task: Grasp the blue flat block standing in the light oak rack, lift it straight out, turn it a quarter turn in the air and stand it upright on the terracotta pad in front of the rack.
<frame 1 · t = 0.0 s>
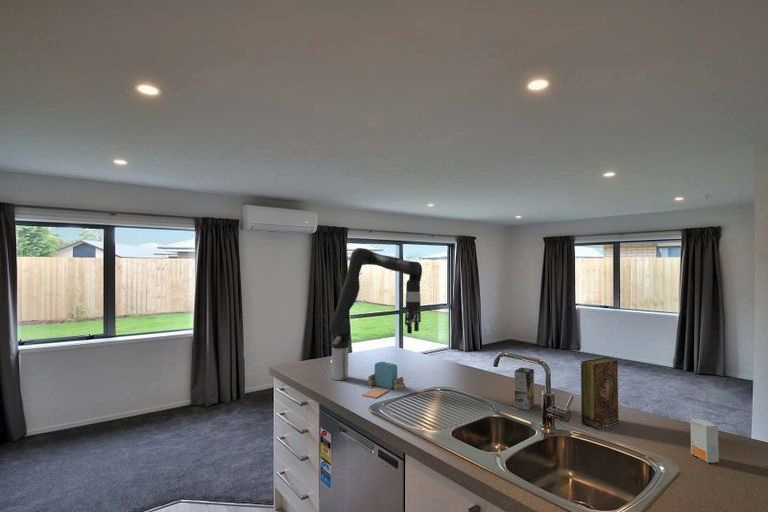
hand: (413, 332, 195), 29 cm above the worktop, tool pointing down, fingers open, 8 cm apart
terracotta pad: (376, 393, 189), on the worktop
coffee box: (524, 406, 173), on the worktop
oak rack: (385, 386, 200), on the worktop
skincare box: (704, 460, 124), on the worktop
book: (601, 424, 153), on the worktop
blue flat block: (385, 387, 200), on the worktop
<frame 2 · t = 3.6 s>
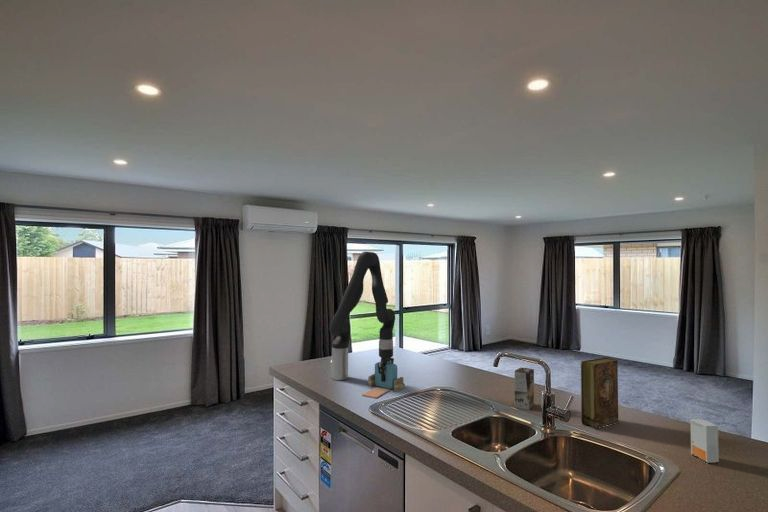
hand: (385, 379, 200), 3 cm above the worktop, tool pointing down, fingers closed on blue flat block, 5 cm apart
blue flat block: (385, 387, 200), on the worktop, touching gripper
everything else where it was.
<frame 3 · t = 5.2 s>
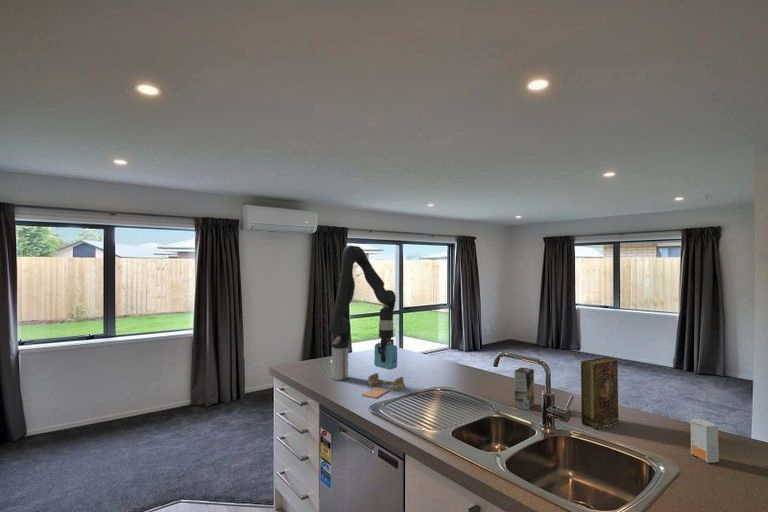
hand: (385, 360, 201), 13 cm above the worktop, tool pointing down, fingers closed on blue flat block, 5 cm apart
blue flat block: (385, 367, 200), point 10 cm above the worktop, touching gripper
everything else where it was.
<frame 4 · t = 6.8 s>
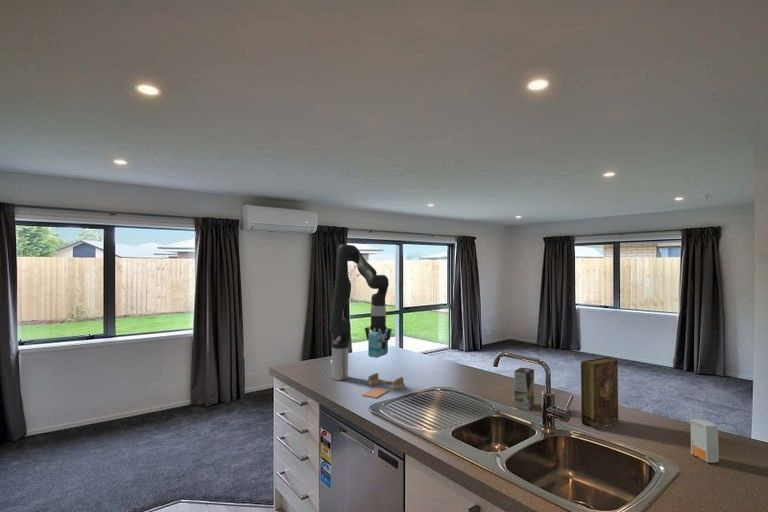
hand: (378, 348, 191), 22 cm above the worktop, tool pointing down, fingers closed on blue flat block, 5 cm apart
blue flat block: (378, 355, 191), point 18 cm above the worktop, touching gripper
everything else where it was.
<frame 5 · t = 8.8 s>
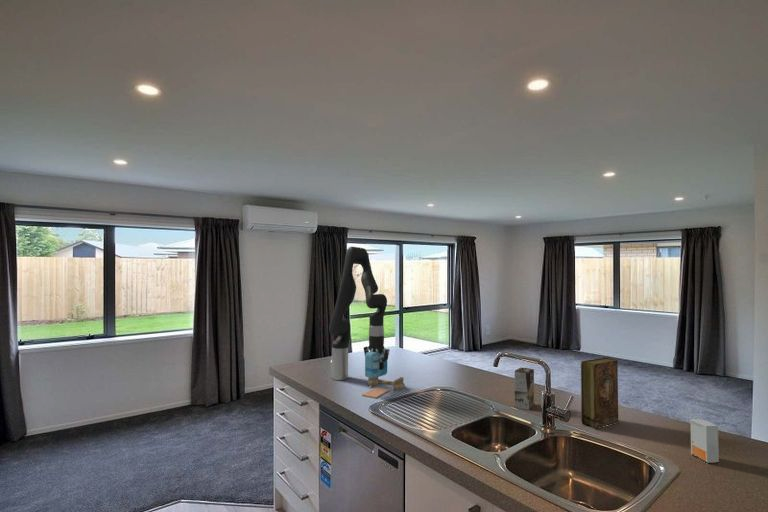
hand: (376, 368, 189), 12 cm above the worktop, tool pointing down, fingers closed on blue flat block, 5 cm apart
blue flat block: (376, 376, 189), point 8 cm above the worktop, touching gripper
everything else where it was.
when the fingers open (5 cm above the worktop, at t = 10.5 s): blue flat block drops 1 cm, resting on terracotta pad.
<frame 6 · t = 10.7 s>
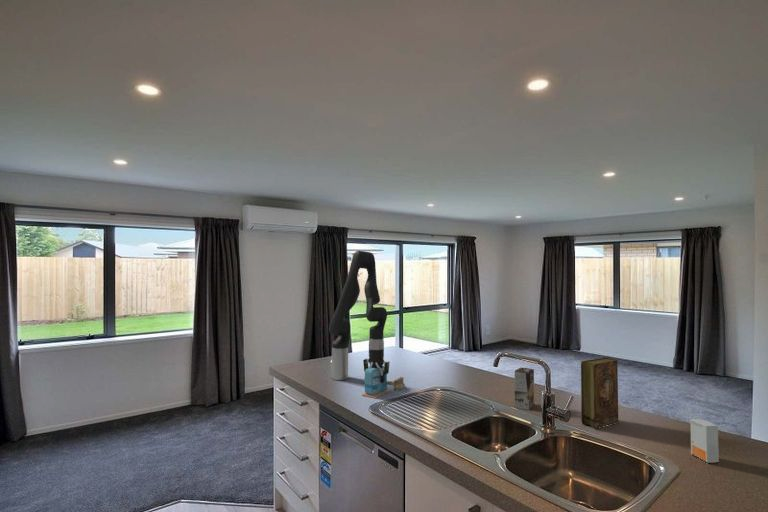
hand: (376, 381, 189), 6 cm above the worktop, tool pointing down, fingers open, 6 cm apart
blue flat block: (376, 392, 189), resting on terracotta pad
everything else where it was.
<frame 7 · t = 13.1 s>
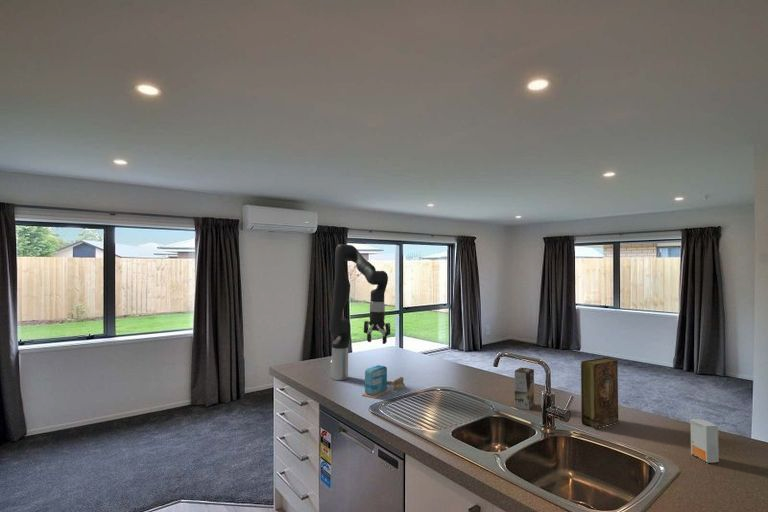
hand: (376, 342, 192), 24 cm above the worktop, tool pointing down, fingers open, 8 cm apart
nothing on the worktop moved.
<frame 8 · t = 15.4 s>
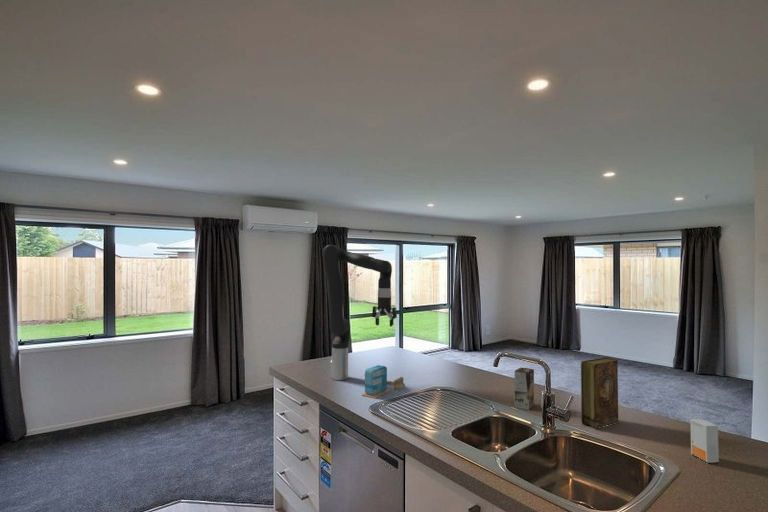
hand: (384, 325, 212), 30 cm above the worktop, tool pointing down, fingers open, 8 cm apart
nothing on the worktop moved.
at the end: blue flat block inside the target area on the terracotta pad (0.0 cm from its centre), point 0.4 cm above the terracotta pad's base; blue flat block tilted 0°; the gripper is holding nothing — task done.
